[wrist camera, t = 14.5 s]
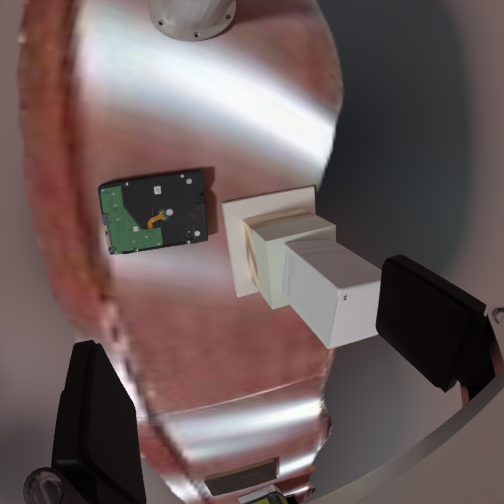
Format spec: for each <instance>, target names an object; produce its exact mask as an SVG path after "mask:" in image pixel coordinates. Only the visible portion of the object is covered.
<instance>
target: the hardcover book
mask: <svg viewBox="0 0 504 504" xmlns="http://www.w3.org/2000/svg"><path fill="white" fill-rule="evenodd" d="M274 479H277V476H276V461H274V459H270V460H267V461H264V462H261V463H257V464H254V465H251V466H247V467H244V468H240V469H236V470H233V471H229V472H225V473H221V474H216V475H212V476H207V477H204V482H205V484H206V485H207V487H208V489H209V490H210V492H211V494H212V495H213V496H217V495H221V494H226V493H230V492H234V491H237V490H241V489H245V488H248V487H252V486H255V485H259V484H262V483H265V482H268V481H271V480H274Z"/></svg>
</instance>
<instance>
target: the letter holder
mask: <svg viewBox="0 0 504 504" xmlns="http://www.w3.org/2000/svg"><path fill="white" fill-rule="evenodd" d="M284 498H285V500H286V502H287V504H299V502H298V500H297V498H296V496H295V494H291V495H287V496H284Z"/></svg>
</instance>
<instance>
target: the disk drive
mask: <svg viewBox="0 0 504 504" xmlns="http://www.w3.org/2000/svg"><path fill="white" fill-rule="evenodd" d="M203 190H204V184H203V173H202V172H201V171H200V170H198V171H185V172H181V173H173V174H166V175H158V176H151V177H143V178H137V179H131V180H125V181H116V182H112V183H106V184H101V185H100V186H99V187H98V194H99V201H100V208H101V214H102V221H103V224H104V230H105V233H106V234H105V235H106V240H107V245H108V248H109V249H108V251H109V253H110V254H111V255H113V254H115V255H117V254H129V253H133V252H139V251H146V250H152V249H158V248H164V247H171V246H178V245H184V244H192V243H199V242H203V241H207V240H208V233H207V223H206V210H205V200H204V194H203V192H204V191H203Z"/></svg>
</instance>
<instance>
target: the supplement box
mask: <svg viewBox="0 0 504 504" xmlns="http://www.w3.org/2000/svg"><path fill="white" fill-rule="evenodd" d="M381 273H382V271H381V270H380V269H378V268H377V267H375V266H373V265H372V264H370V263H369V262H367V261H366V260H364V259H362V258H361V257H359V256H358V255H356V254H354V253H352V252H351V251H350V250H348V249H346V248H344V247H343V246H342V245H340V244H338V243H337V242H335V241H333V240H332V239H325V240H313V241H301V242H290V243H284V249H283V261H282V273H281V285H280V294H281V295H282V296H283V297H284V298H285V299H286V301H287V302H288V303H289V304H290V305H291V306H292V308H293V309H294V310H295V311H296V312H297V313H298V315H299V316H300V317H301V318H302V319H303V320H304V322H305V323H306V324H307V325H308V326H309V327H310V328H311V330H312V331H313V332H314V333H315V334H316V335H317V337H318V338H319V339H320V340H321V341H322V342H323V343H324V345H325V346H326V347H327V348H328V349H331V348H335V347H338V346H341V345H345V344H348V343H351V342H355V341H358V340H361V339H364V338H368V337H371V336H374V335H377V334H378V332H377V331H376V327H375V324H376V317H377V309H378V301H379V293H380V283H381Z"/></svg>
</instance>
